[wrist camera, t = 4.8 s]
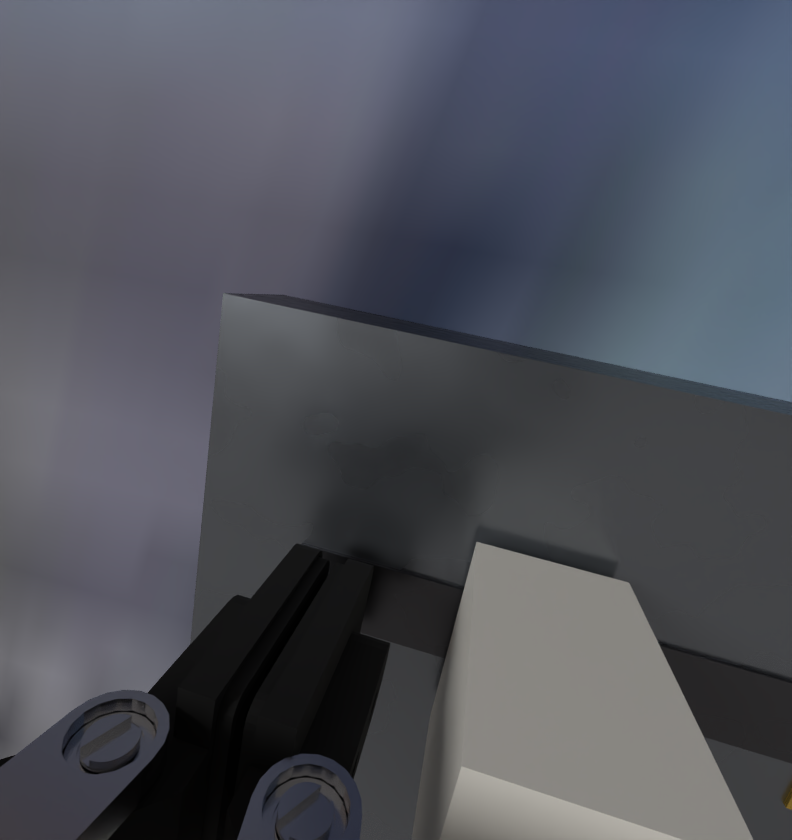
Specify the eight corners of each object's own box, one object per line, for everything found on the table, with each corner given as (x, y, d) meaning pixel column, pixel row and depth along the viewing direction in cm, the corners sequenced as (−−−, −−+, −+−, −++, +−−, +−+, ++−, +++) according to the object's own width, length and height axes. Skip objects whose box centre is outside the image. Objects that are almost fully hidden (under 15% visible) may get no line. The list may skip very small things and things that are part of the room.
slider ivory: (629, 582, 10) (766, 868, 5) (563, 758, 11) (620, 1126, 6) (476, 541, 10) (462, 767, 5) (429, 715, 11) (383, 1028, 6)
